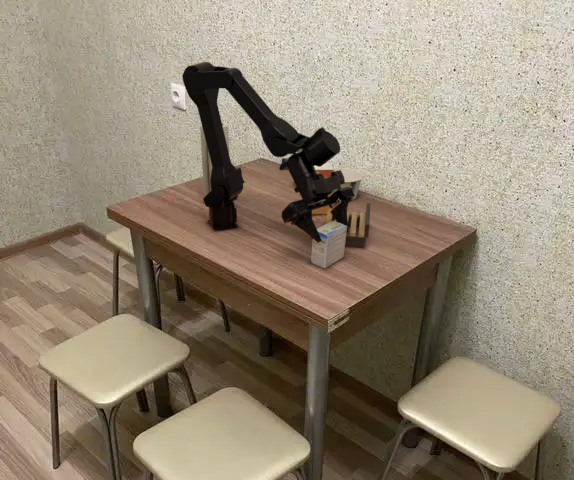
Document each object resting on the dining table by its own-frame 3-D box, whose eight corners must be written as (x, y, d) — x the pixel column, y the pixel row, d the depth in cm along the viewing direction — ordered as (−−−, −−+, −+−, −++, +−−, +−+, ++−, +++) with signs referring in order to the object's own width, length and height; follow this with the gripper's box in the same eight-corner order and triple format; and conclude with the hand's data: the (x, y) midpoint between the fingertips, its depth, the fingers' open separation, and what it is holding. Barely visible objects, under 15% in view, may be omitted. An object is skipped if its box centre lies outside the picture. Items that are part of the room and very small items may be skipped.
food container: (369, 196, 175) (371, 175, 171) (341, 206, 169) (343, 184, 165) (341, 185, 182) (343, 164, 178) (313, 194, 176) (314, 172, 172)
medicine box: (329, 252, 144) (332, 219, 139) (344, 258, 142) (347, 225, 136) (310, 263, 139) (312, 229, 134) (325, 269, 137) (327, 235, 132)
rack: (322, 244, 147) (324, 220, 143) (326, 222, 159) (328, 200, 155) (366, 248, 146) (369, 224, 142) (367, 226, 157) (370, 203, 154)
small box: (302, 215, 162) (305, 169, 154) (299, 206, 167) (301, 161, 159) (331, 214, 163) (334, 169, 155) (326, 206, 168) (330, 161, 160)
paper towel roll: (232, 196, 172) (230, 121, 160) (228, 203, 168) (226, 127, 155) (208, 194, 173) (204, 120, 160) (204, 202, 168) (199, 125, 155)
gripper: (290, 167, 124) (320, 232, 124) (353, 152, 134) (381, 213, 133) (268, 192, 134) (296, 252, 133) (328, 176, 143) (354, 233, 143)
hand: (333, 237), depth 135 cm, fingers closed on medicine box, 8 cm apart
